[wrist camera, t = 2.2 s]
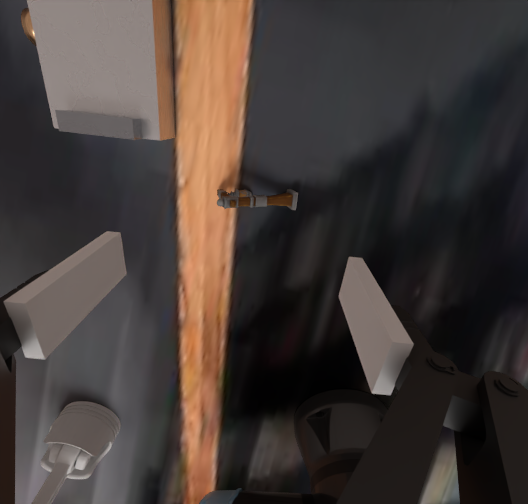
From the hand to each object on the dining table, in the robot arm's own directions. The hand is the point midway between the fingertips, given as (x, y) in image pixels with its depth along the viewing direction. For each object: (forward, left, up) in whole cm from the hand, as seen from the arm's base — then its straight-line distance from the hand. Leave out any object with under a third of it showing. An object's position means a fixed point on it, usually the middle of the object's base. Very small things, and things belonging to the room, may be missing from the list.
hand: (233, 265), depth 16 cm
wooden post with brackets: (-1, 0, -15) cm, 15 cm away
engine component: (+25, +43, -15) cm, 52 cm away
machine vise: (+13, -14, -15) cm, 24 cm away
